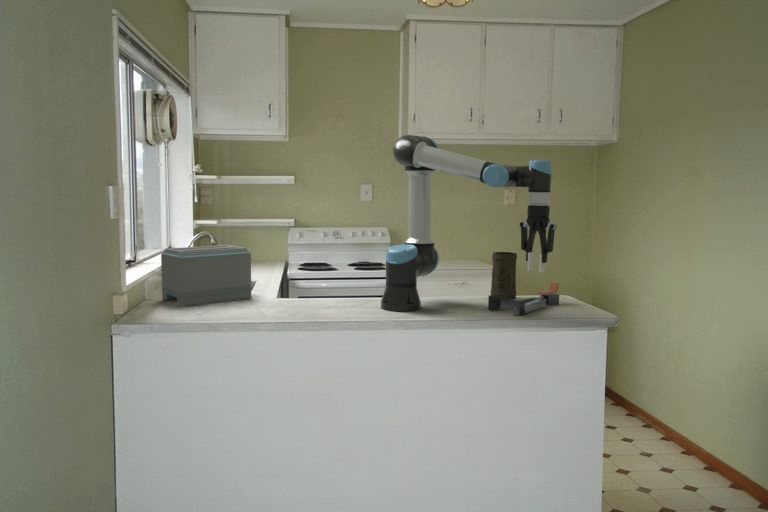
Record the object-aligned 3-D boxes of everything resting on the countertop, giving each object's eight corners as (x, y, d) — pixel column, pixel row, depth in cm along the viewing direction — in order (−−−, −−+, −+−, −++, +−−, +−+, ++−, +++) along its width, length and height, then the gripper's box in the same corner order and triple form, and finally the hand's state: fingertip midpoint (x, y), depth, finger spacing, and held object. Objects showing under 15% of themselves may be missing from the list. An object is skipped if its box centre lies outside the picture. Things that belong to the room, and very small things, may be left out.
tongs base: (549, 302, 254) (549, 288, 253) (558, 304, 250) (559, 290, 249) (488, 309, 237) (488, 295, 236) (497, 312, 232) (497, 297, 232)
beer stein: (516, 303, 249) (518, 253, 248) (489, 302, 251) (491, 252, 250) (516, 299, 264) (518, 251, 263) (490, 298, 266) (492, 251, 265)
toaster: (260, 297, 255) (260, 247, 253) (181, 307, 233) (180, 252, 231) (237, 291, 269) (236, 243, 267) (161, 300, 247) (159, 248, 244)
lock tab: (552, 291, 252) (552, 281, 252) (558, 292, 250) (558, 282, 249) (537, 293, 248) (538, 283, 248) (543, 294, 245) (544, 284, 245)
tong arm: (540, 305, 246) (541, 292, 245) (546, 306, 244) (546, 292, 244) (513, 314, 227) (514, 300, 227) (519, 315, 226) (520, 301, 225)
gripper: (566, 205, 217) (562, 272, 220) (523, 203, 228) (520, 267, 231) (555, 205, 212) (552, 274, 214) (512, 204, 223) (509, 269, 226)
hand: (535, 271), depth 223 cm, fingers open, 4 cm apart
